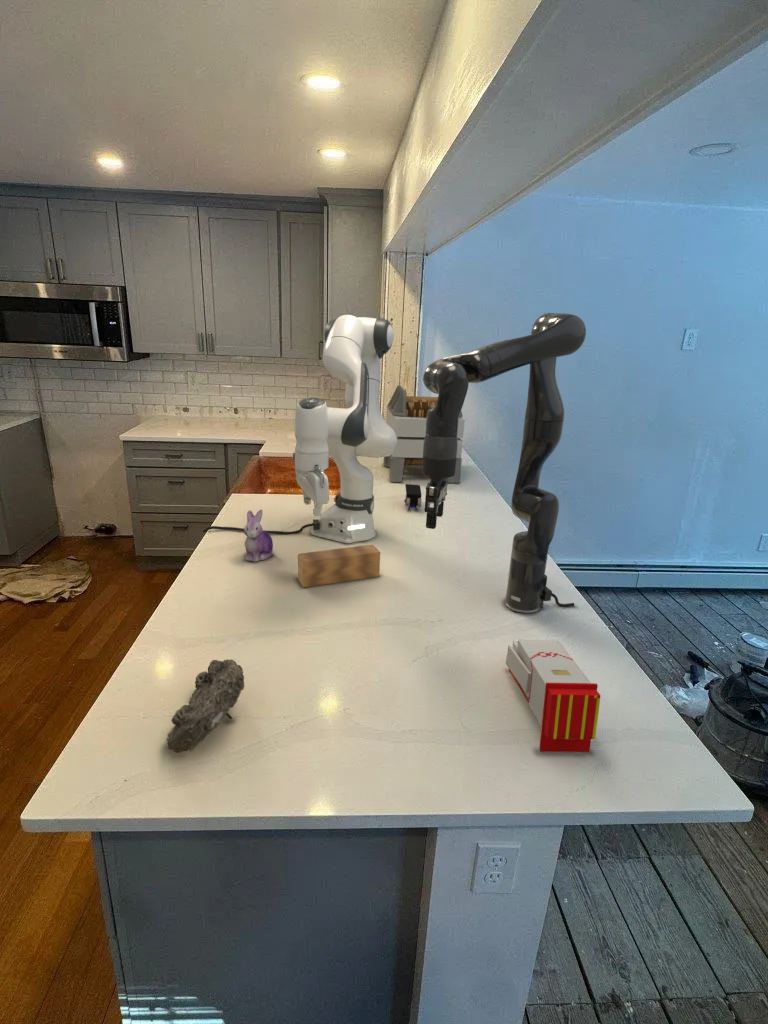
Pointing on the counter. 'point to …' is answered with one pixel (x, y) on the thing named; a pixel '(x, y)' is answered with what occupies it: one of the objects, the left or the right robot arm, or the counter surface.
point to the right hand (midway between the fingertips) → (434, 521)
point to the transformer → (413, 433)
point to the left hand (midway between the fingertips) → (312, 509)
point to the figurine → (257, 538)
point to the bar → (338, 565)
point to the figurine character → (413, 496)
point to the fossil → (206, 705)
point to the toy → (556, 694)
